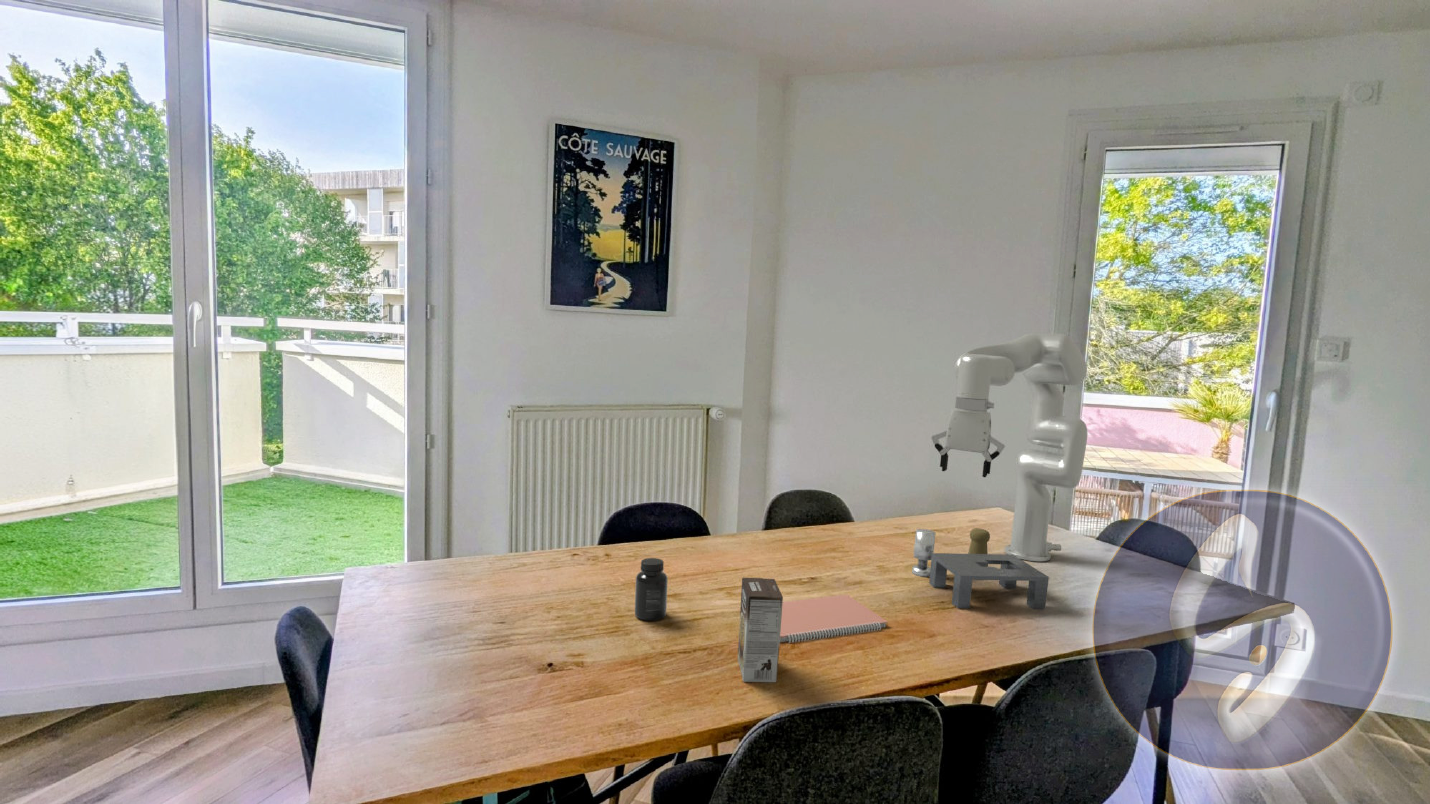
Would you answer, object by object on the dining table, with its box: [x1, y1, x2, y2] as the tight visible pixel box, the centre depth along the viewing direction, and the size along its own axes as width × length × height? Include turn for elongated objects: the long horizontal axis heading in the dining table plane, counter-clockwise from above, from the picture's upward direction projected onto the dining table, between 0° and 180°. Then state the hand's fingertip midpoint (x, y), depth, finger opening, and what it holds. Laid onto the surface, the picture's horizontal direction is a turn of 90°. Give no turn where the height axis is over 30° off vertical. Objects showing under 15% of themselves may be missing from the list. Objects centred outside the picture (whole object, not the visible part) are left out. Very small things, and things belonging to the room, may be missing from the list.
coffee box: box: [737, 577, 784, 683], centre depth 129 cm, size 9×6×16 cm
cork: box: [967, 527, 991, 567], centre depth 194 cm, size 6×6×11 cm
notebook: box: [780, 594, 889, 644], centre depth 153 cm, size 27×17×2 cm, turn 113°
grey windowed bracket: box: [928, 552, 1050, 610], centre depth 173 cm, size 22×16×8 cm
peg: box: [911, 528, 936, 578], centre depth 187 cm, size 5×5×12 cm
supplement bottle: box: [634, 557, 668, 622], centre depth 150 cm, size 7×7×12 cm
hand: (964, 473), depth 175 cm, fingers open, 9 cm apart
